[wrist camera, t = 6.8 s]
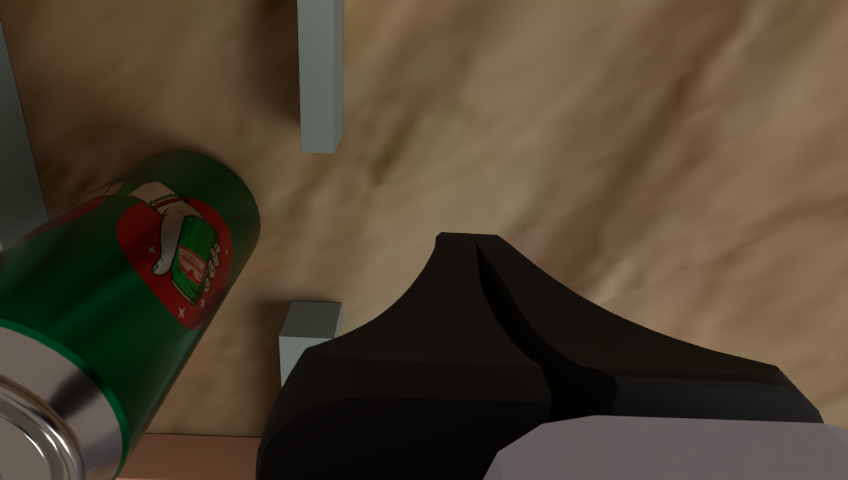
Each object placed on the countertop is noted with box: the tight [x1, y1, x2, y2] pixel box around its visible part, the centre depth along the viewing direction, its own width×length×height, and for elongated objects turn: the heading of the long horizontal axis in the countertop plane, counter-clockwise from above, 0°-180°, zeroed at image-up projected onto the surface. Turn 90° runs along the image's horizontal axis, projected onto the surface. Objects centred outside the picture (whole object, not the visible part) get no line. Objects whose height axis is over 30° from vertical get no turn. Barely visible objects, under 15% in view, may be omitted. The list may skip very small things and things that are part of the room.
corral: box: [0, 0, 344, 480], centre depth 19 cm, size 24×12×2 cm, turn 176°
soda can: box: [0, 150, 260, 480], centre depth 15 cm, size 5×5×12 cm
